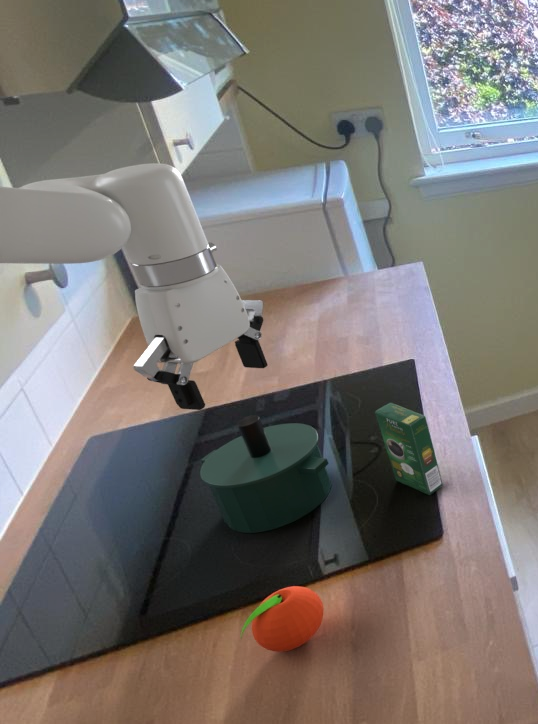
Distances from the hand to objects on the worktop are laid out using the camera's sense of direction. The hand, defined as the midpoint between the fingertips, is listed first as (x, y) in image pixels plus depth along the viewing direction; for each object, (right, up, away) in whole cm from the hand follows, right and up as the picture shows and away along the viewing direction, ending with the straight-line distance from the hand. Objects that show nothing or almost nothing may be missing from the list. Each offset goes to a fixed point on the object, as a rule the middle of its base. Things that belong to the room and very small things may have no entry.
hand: (226, 386), depth 96 cm
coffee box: (+17, -18, +17) cm, 29 cm away
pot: (-3, -19, +14) cm, 24 cm away
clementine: (+15, -29, -9) cm, 34 cm away
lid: (-3, -12, +10) cm, 16 cm away
